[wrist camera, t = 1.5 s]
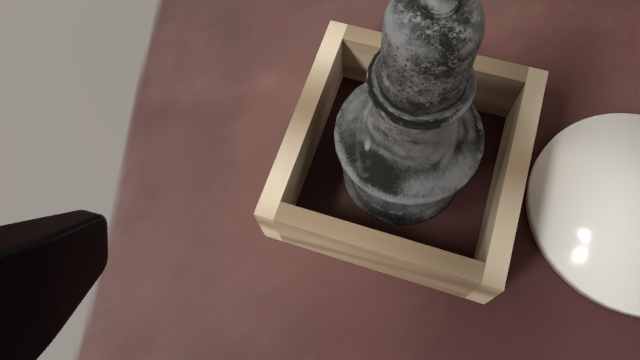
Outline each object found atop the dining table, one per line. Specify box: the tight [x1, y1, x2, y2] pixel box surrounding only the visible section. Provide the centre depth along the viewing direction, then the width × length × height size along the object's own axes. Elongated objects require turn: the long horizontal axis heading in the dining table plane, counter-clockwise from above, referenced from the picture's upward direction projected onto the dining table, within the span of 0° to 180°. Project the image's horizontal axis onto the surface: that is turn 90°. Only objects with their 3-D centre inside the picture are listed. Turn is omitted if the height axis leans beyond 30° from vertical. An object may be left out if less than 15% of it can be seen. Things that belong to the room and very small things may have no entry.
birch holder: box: [254, 21, 549, 304], centre depth 22 cm, size 10×10×3 cm
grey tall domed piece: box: [334, 0, 485, 225], centre depth 18 cm, size 6×6×12 cm
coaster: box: [525, 113, 640, 318], centre depth 22 cm, size 9×9×1 cm
